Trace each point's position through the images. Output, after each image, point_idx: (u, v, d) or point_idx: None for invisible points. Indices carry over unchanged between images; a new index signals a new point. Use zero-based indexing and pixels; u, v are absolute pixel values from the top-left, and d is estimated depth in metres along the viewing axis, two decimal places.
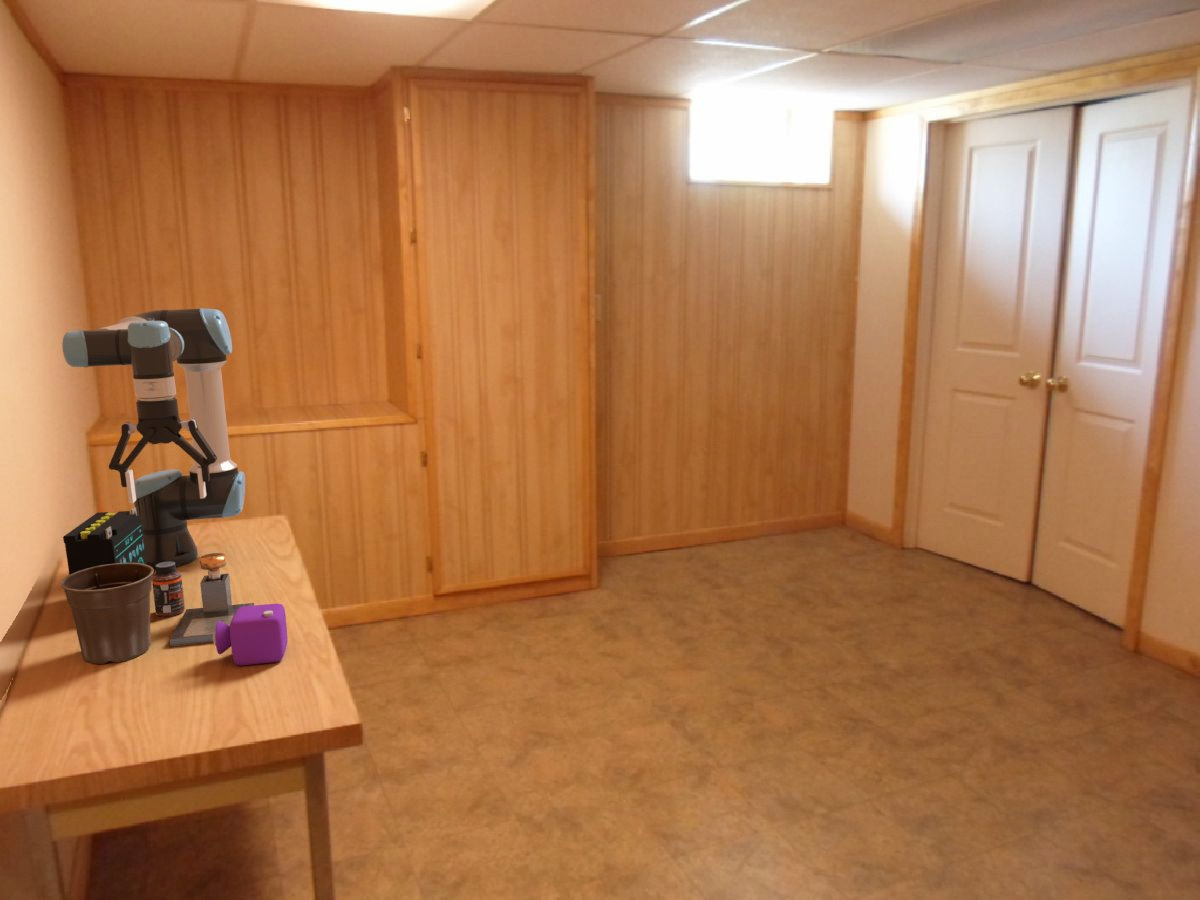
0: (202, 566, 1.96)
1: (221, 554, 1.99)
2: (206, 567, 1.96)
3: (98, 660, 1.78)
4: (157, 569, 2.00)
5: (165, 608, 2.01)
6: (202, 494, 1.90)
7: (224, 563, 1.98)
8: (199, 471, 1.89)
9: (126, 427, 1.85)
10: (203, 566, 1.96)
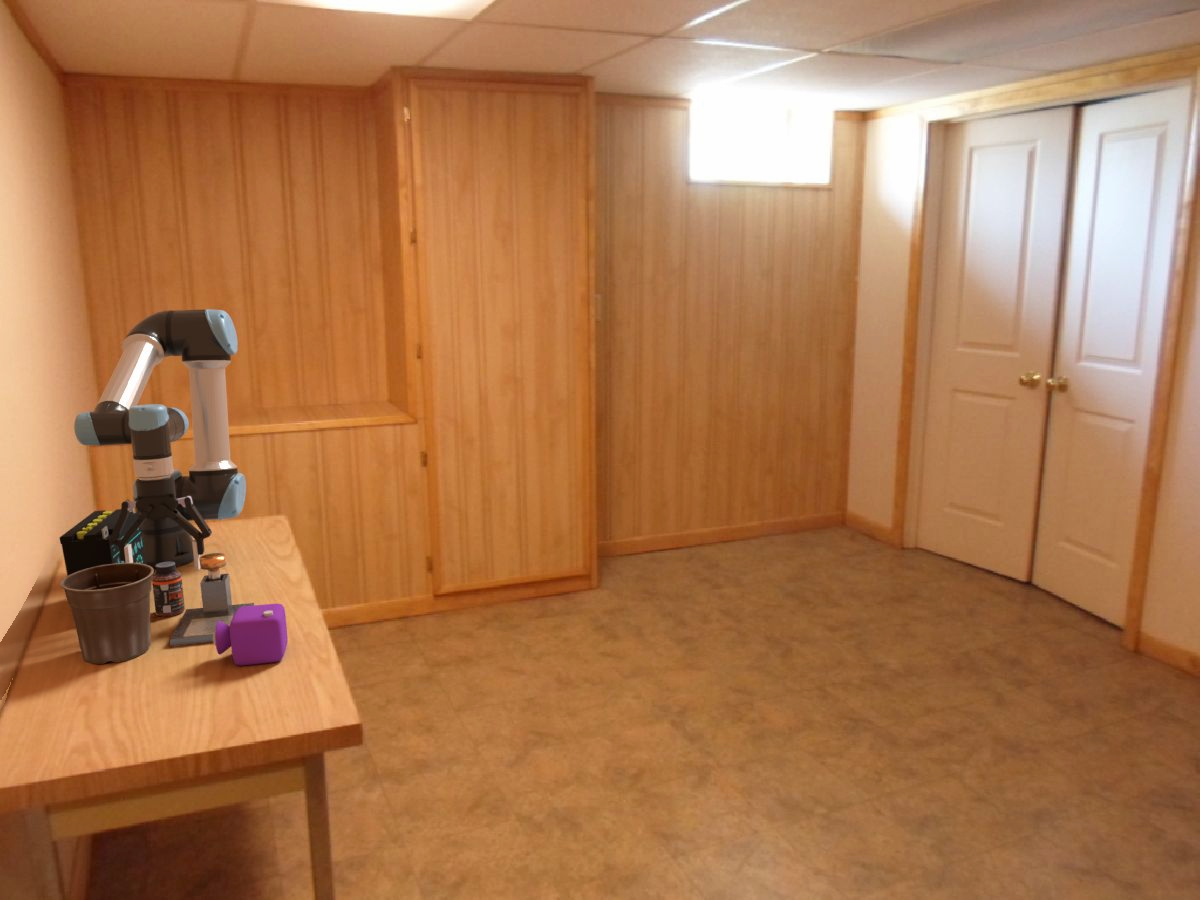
0: (202, 566, 1.96)
1: (221, 554, 1.99)
2: (206, 567, 1.96)
3: (98, 660, 1.78)
4: (157, 569, 2.00)
5: (165, 608, 2.01)
6: (197, 567, 2.01)
7: (224, 563, 1.98)
8: (194, 545, 2.00)
9: (126, 504, 1.96)
10: (203, 566, 1.96)
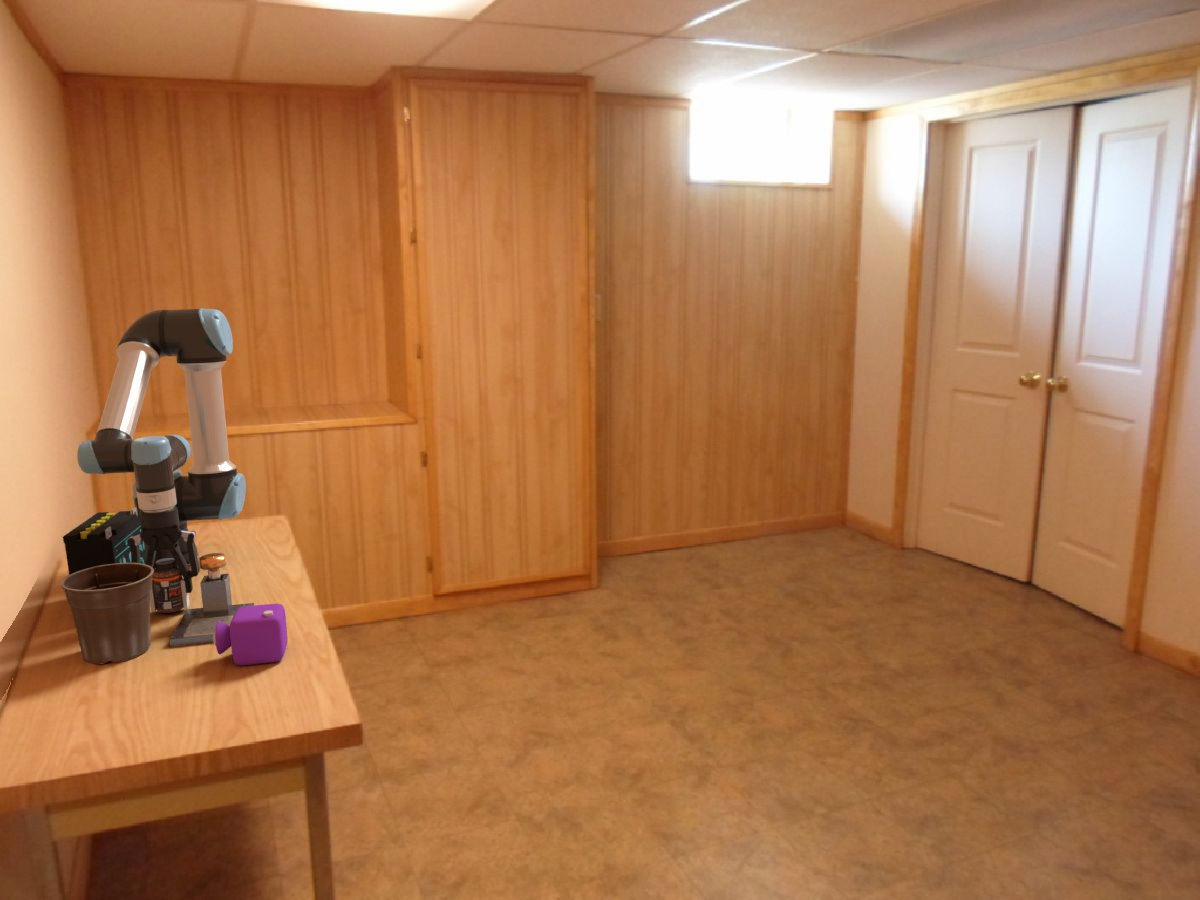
0: (202, 566, 1.96)
1: (221, 554, 1.99)
2: (206, 567, 1.96)
3: (98, 660, 1.78)
4: (158, 566, 2.00)
5: (165, 605, 2.01)
6: (185, 605, 2.03)
7: (224, 563, 1.98)
8: (182, 584, 2.02)
9: (131, 541, 1.98)
10: (203, 566, 1.96)
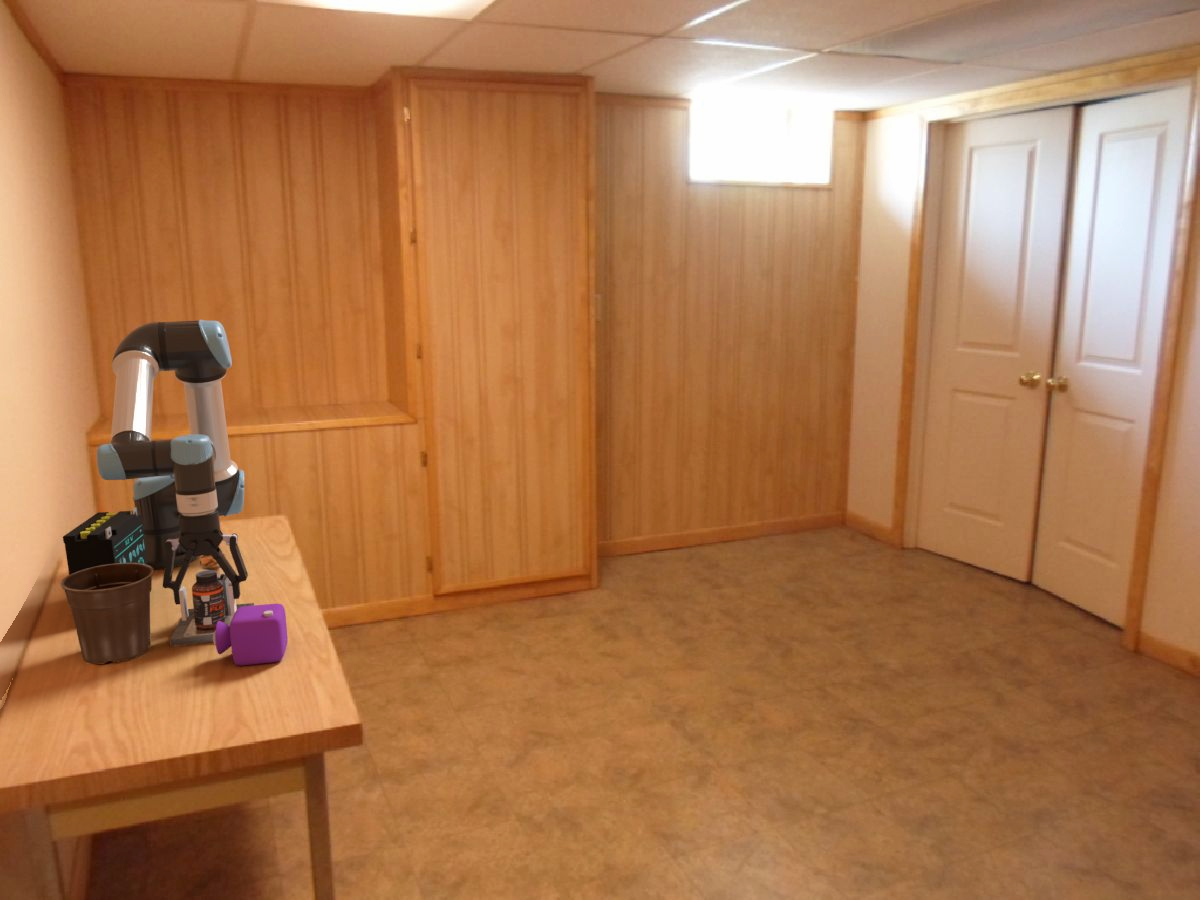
0: (202, 566, 1.96)
1: None
2: (206, 567, 1.96)
3: (98, 660, 1.78)
4: (198, 579, 1.88)
5: (205, 620, 1.89)
6: (233, 611, 1.91)
7: None
8: (230, 589, 1.90)
9: (169, 544, 1.85)
10: (203, 566, 1.96)
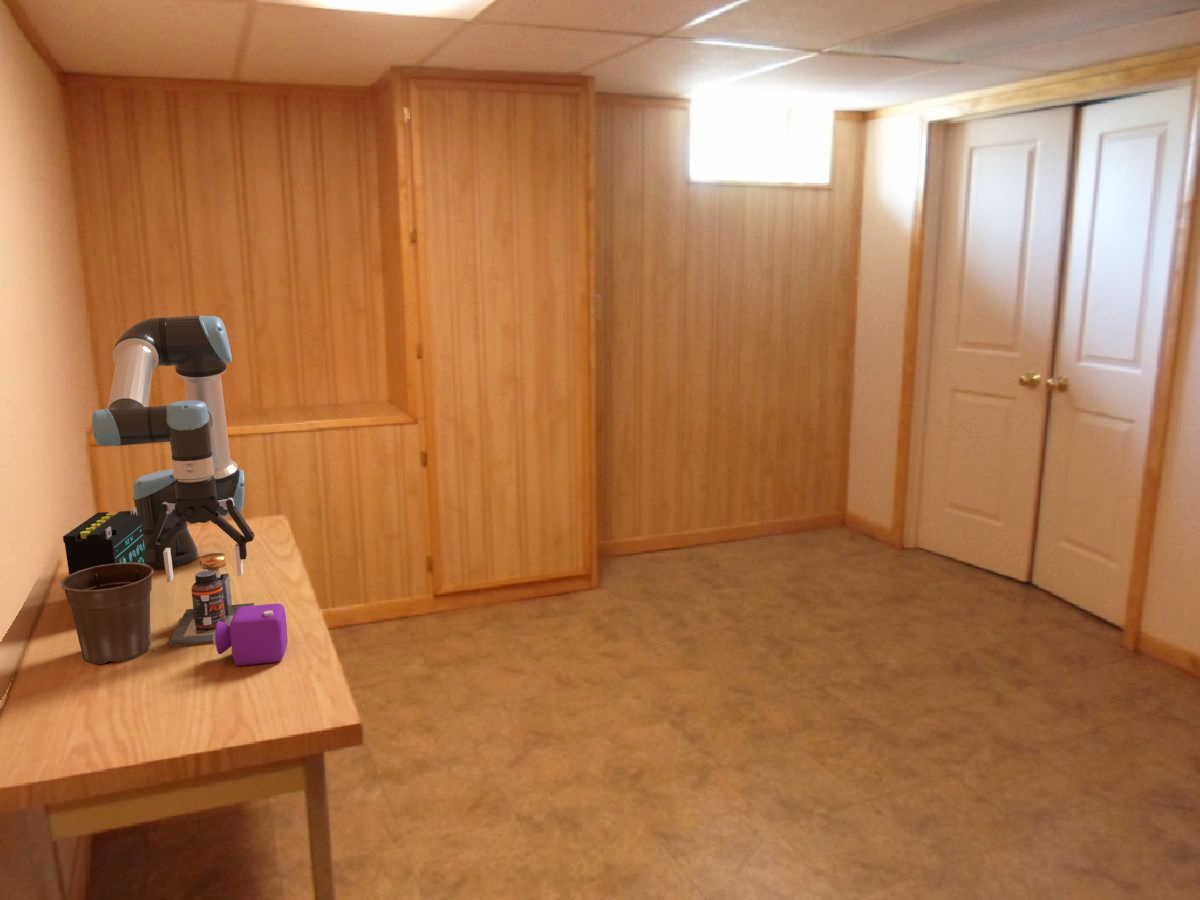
0: (202, 566, 1.96)
1: (221, 554, 1.99)
2: (206, 567, 1.96)
3: (98, 660, 1.78)
4: (197, 579, 1.88)
5: (205, 620, 1.89)
6: (240, 572, 1.90)
7: (224, 563, 1.98)
8: (237, 549, 1.89)
9: (164, 507, 1.84)
10: (203, 566, 1.96)
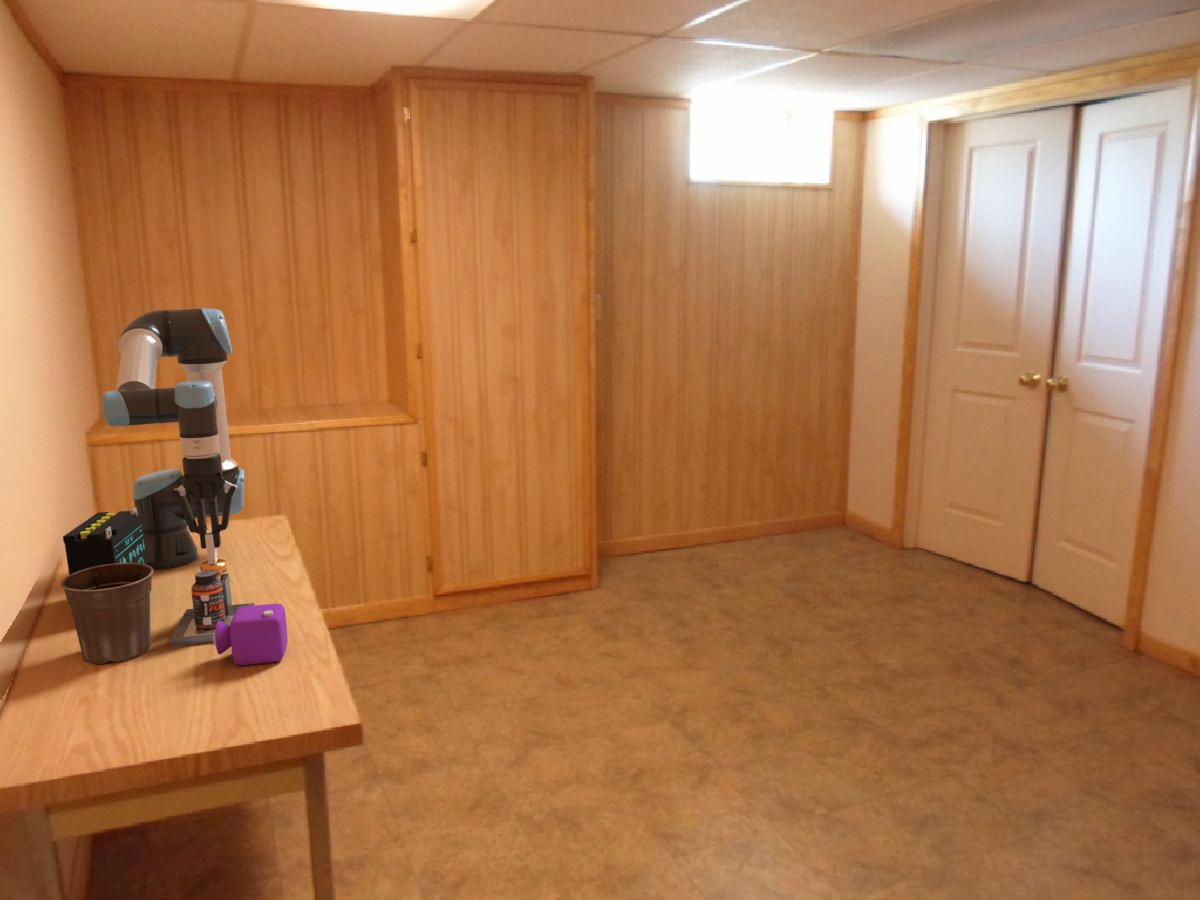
0: None
1: (222, 560, 2.00)
2: None
3: (98, 660, 1.78)
4: (197, 579, 1.88)
5: (205, 620, 1.89)
6: (213, 560, 1.97)
7: (225, 569, 1.98)
8: (211, 538, 1.96)
9: (176, 492, 1.92)
10: None
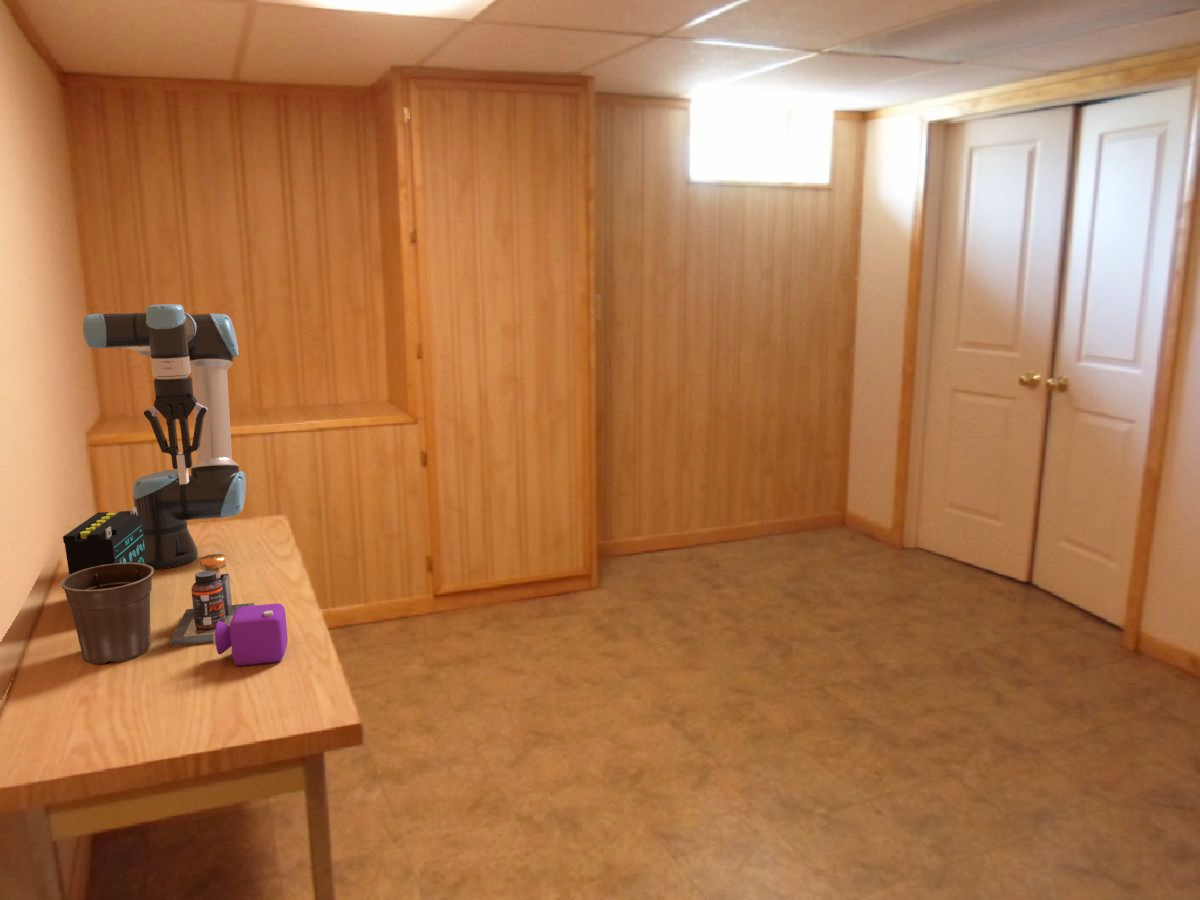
0: (202, 567, 1.96)
1: (221, 555, 1.99)
2: (206, 568, 1.96)
3: (98, 660, 1.78)
4: (197, 579, 1.88)
5: (205, 620, 1.89)
6: (185, 480, 2.02)
7: (224, 564, 1.98)
8: (182, 458, 2.01)
9: (148, 412, 1.97)
10: (203, 567, 1.96)
